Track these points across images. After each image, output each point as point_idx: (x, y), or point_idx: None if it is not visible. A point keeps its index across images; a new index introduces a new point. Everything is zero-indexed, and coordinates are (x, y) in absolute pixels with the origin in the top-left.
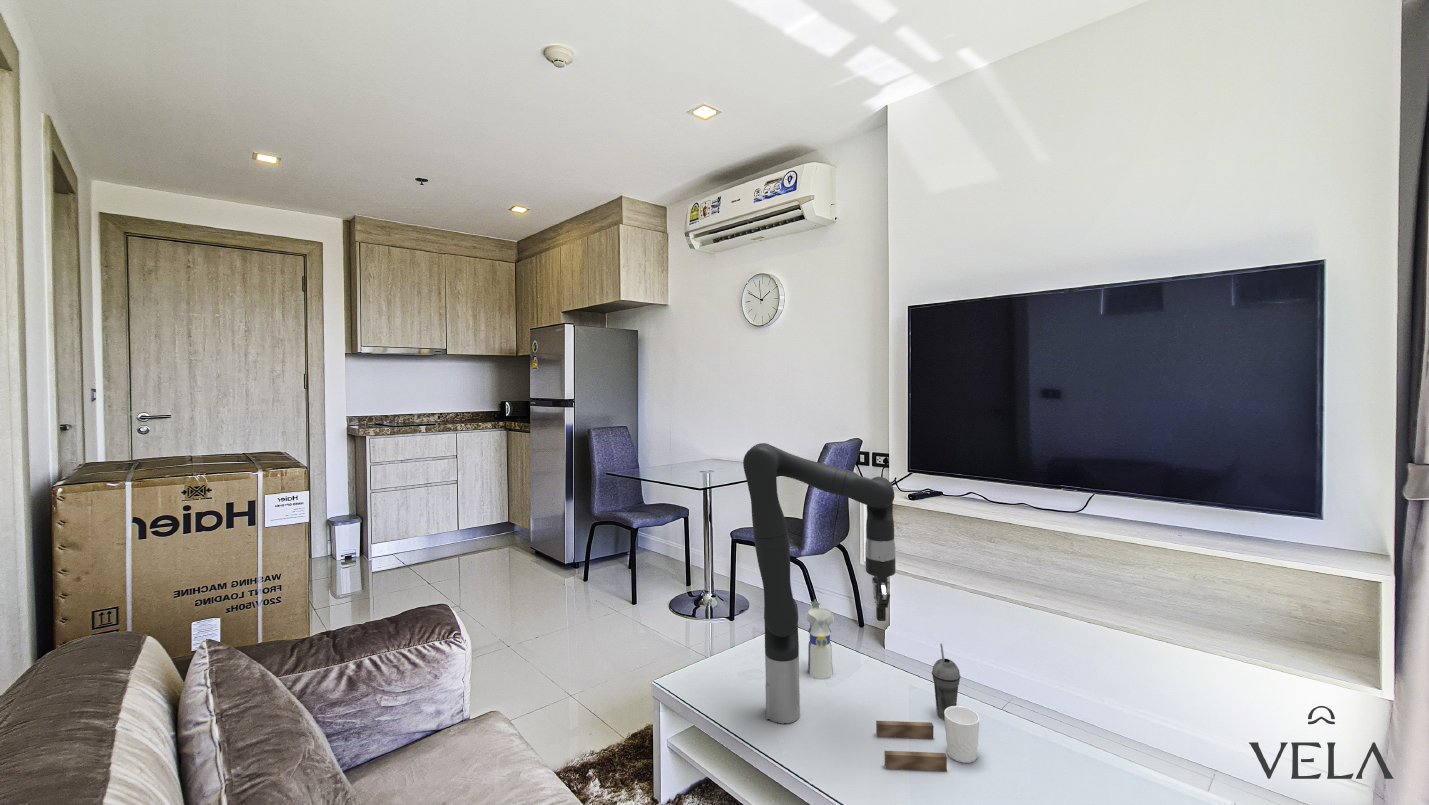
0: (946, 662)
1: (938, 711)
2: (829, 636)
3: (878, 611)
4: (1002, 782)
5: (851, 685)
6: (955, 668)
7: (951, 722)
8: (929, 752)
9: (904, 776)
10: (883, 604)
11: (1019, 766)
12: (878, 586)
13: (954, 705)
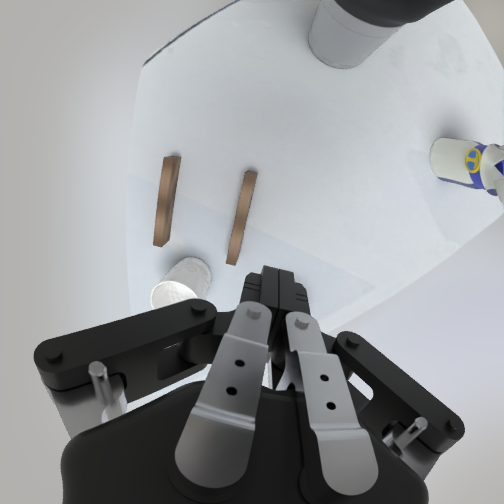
0: None
1: None
2: (481, 184)
3: (258, 295)
4: (143, 289)
5: (402, 193)
6: (266, 362)
7: (161, 281)
8: (162, 226)
9: (155, 177)
10: (179, 343)
11: None
12: (102, 440)
13: None
